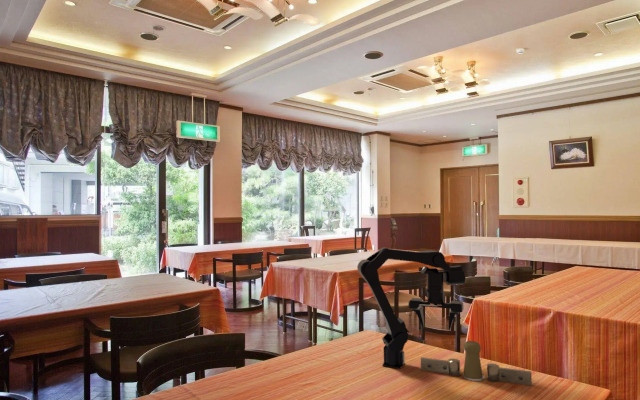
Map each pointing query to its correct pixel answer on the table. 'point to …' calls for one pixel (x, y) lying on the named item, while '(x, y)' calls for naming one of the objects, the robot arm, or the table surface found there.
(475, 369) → the olive rounded piece
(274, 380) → the table surface
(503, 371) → the hinge frame
